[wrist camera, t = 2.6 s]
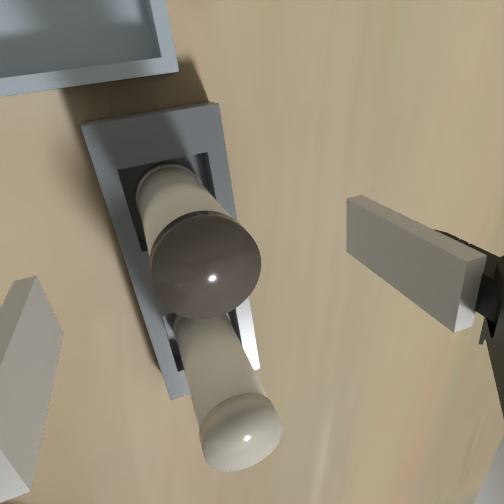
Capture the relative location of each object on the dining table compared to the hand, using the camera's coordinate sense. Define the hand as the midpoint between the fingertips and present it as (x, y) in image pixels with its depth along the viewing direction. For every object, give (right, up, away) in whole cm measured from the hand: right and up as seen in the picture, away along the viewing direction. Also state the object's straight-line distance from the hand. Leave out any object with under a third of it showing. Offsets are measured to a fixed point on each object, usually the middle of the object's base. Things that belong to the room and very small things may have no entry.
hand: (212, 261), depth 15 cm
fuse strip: (-4, 0, +13) cm, 13 cm away
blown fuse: (-4, +4, +10) cm, 12 cm away
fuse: (-3, -5, +15) cm, 16 cm away
